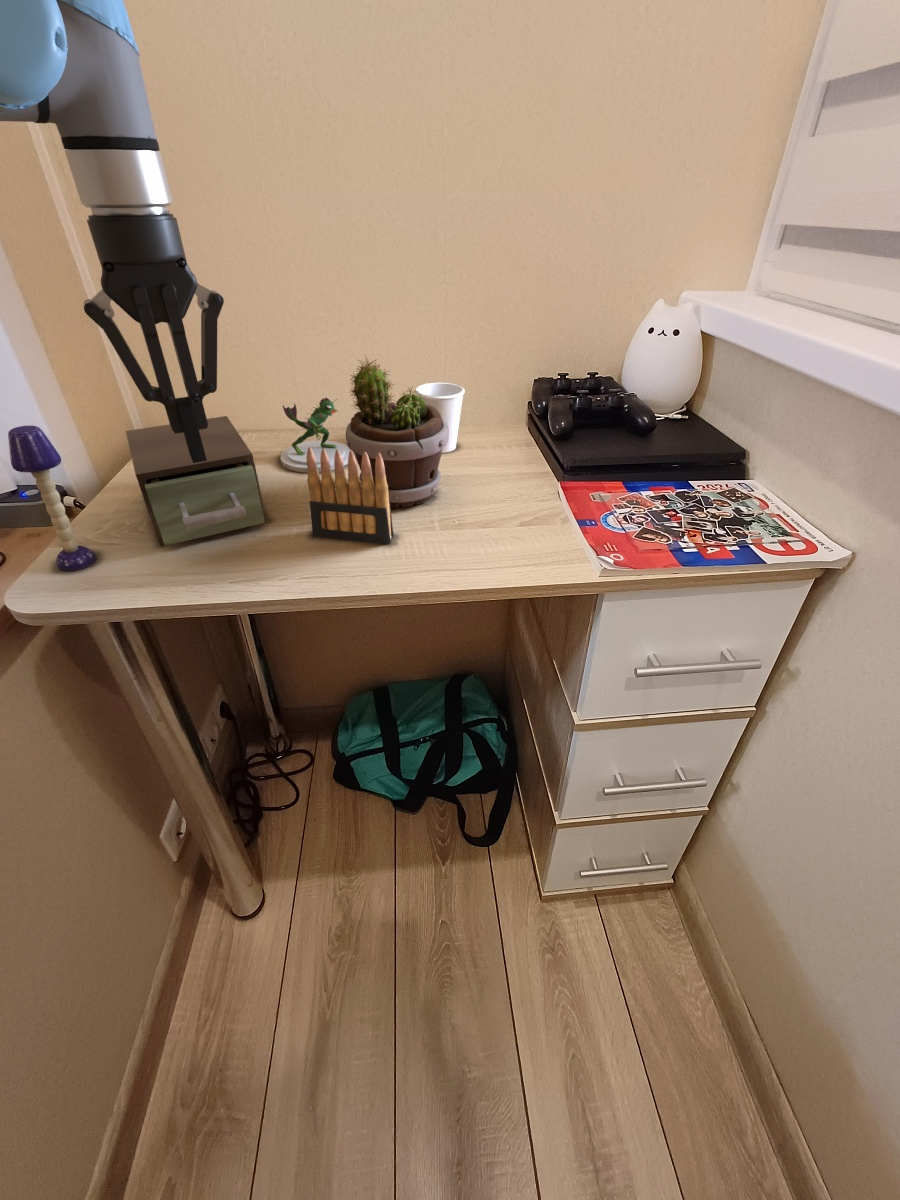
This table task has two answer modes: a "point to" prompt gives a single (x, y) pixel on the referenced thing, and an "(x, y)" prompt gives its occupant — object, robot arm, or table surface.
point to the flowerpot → (397, 437)
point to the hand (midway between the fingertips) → (198, 457)
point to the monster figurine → (297, 453)
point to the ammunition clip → (349, 500)
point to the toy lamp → (47, 490)
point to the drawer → (205, 502)
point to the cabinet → (184, 454)
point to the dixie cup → (445, 406)
